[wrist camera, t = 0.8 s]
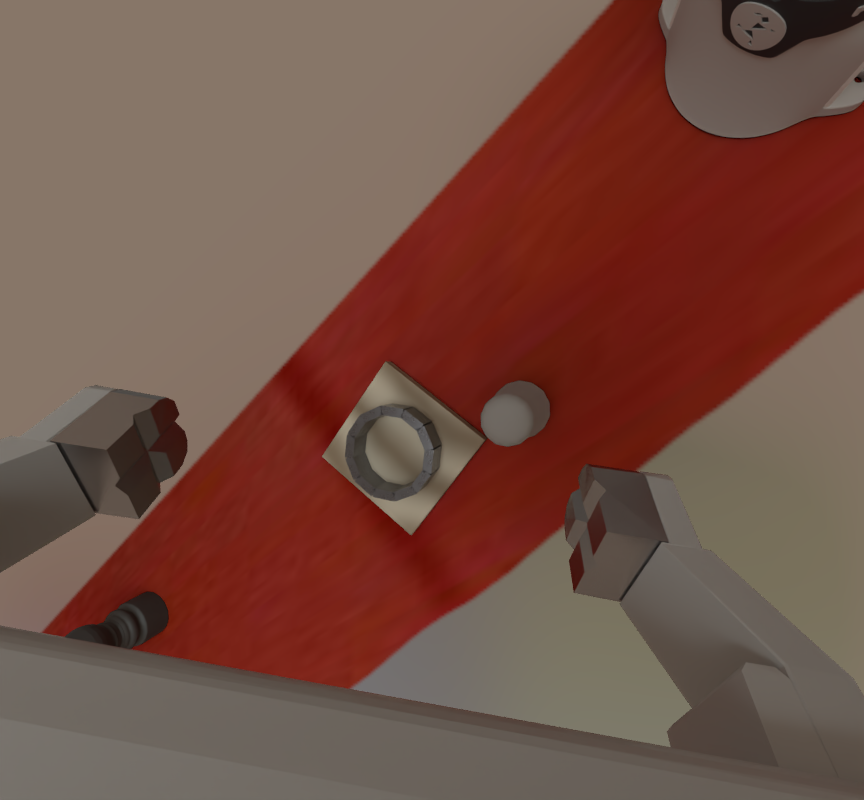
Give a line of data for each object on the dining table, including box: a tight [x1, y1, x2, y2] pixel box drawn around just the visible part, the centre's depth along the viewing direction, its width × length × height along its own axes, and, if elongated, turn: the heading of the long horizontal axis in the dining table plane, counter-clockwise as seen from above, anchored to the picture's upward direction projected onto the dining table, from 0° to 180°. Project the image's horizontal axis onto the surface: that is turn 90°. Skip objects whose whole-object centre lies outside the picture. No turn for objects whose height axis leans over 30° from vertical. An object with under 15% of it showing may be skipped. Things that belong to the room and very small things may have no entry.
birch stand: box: [322, 362, 487, 535], centre depth 51 cm, size 14×14×2 cm
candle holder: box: [65, 592, 168, 649], centre depth 53 cm, size 6×6×25 cm
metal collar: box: [345, 403, 442, 502], centre depth 49 cm, size 10×10×3 cm
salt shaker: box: [481, 381, 550, 447], centre depth 41 cm, size 6×6×13 cm
